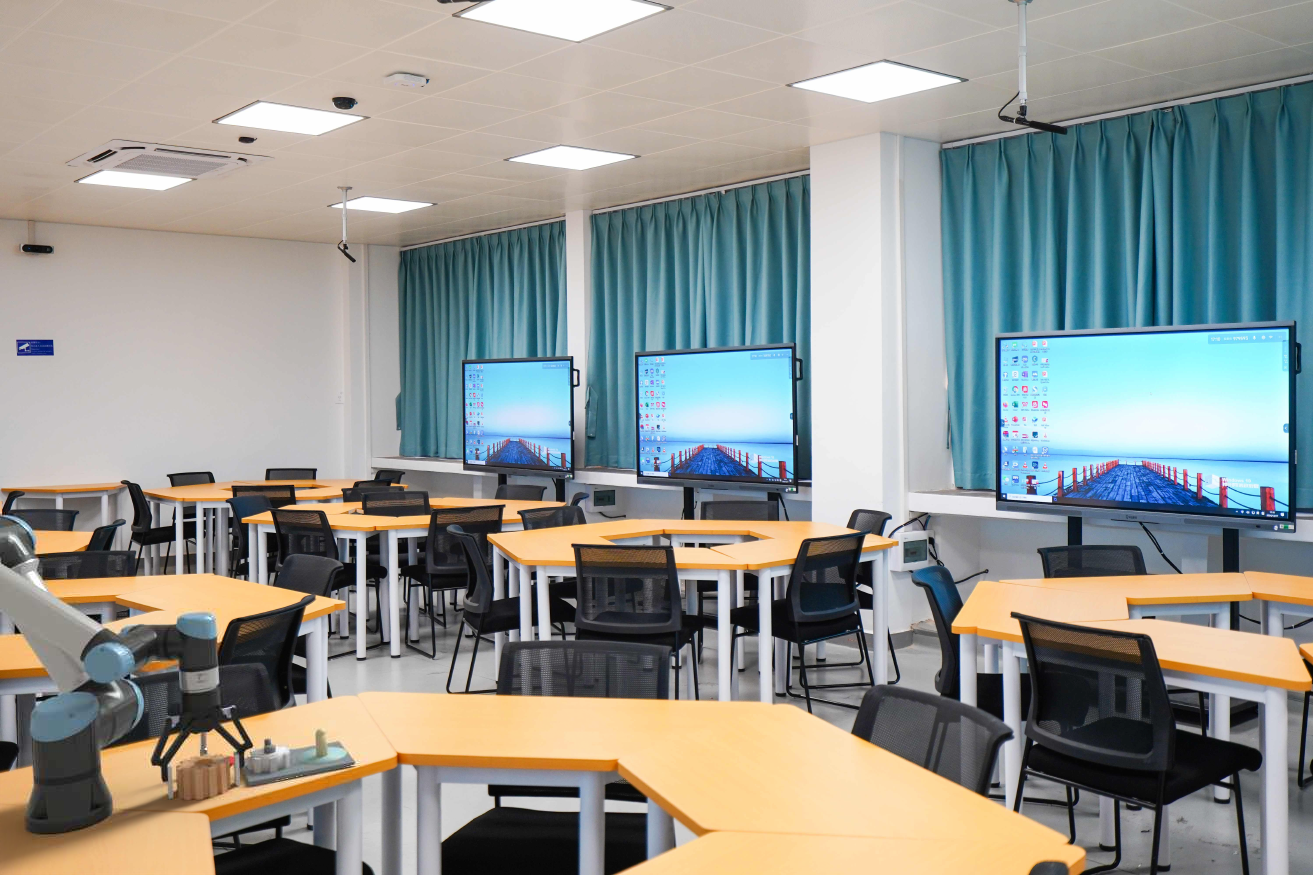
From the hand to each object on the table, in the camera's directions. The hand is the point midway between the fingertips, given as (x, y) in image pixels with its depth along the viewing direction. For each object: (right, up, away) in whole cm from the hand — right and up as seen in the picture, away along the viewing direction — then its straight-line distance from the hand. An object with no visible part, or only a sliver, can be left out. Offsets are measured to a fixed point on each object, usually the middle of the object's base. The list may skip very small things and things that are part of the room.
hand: (204, 789), depth 218 cm
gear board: (+15, +1, +14) cm, 20 cm away
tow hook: (-4, 0, +15) cm, 15 cm away
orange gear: (0, 0, 0) cm, 0 cm away
